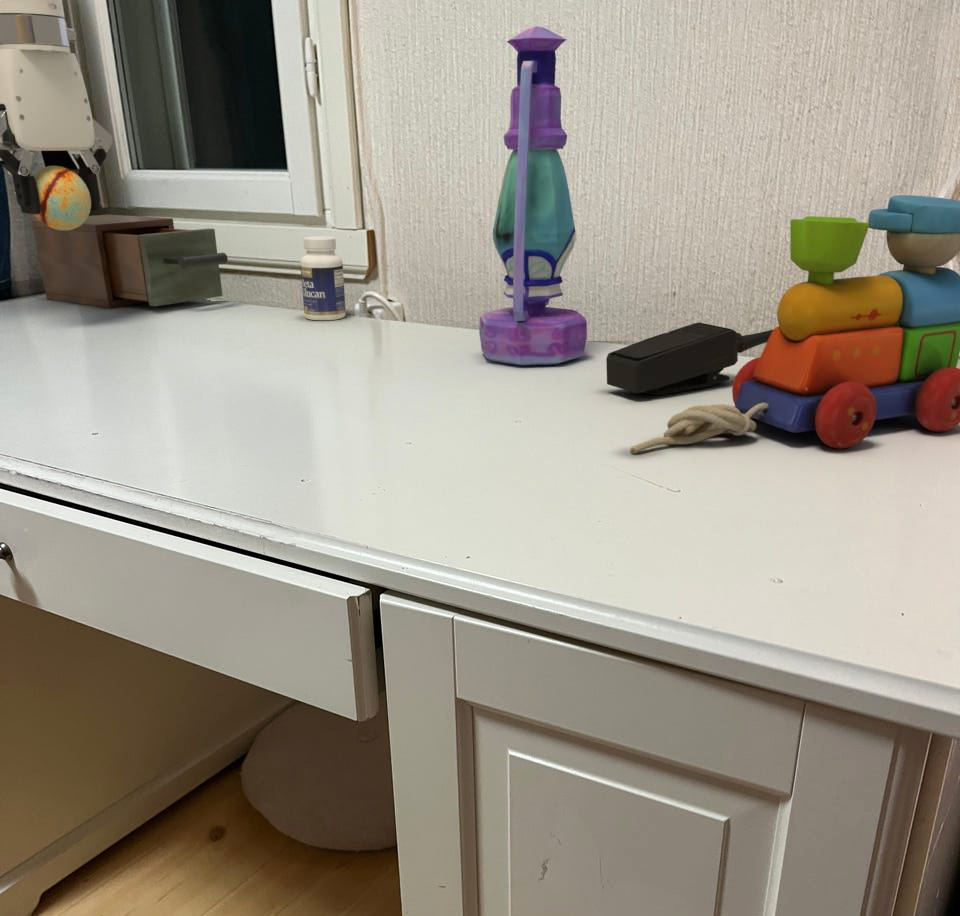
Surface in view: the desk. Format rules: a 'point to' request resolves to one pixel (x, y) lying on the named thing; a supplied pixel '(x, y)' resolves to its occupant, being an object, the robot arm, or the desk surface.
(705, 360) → the walkie-talkie
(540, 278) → the lantern
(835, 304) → the toy train
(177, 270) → the drawer
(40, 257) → the cabinet
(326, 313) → the pill bottle
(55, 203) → the ball
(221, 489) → the desk surface
